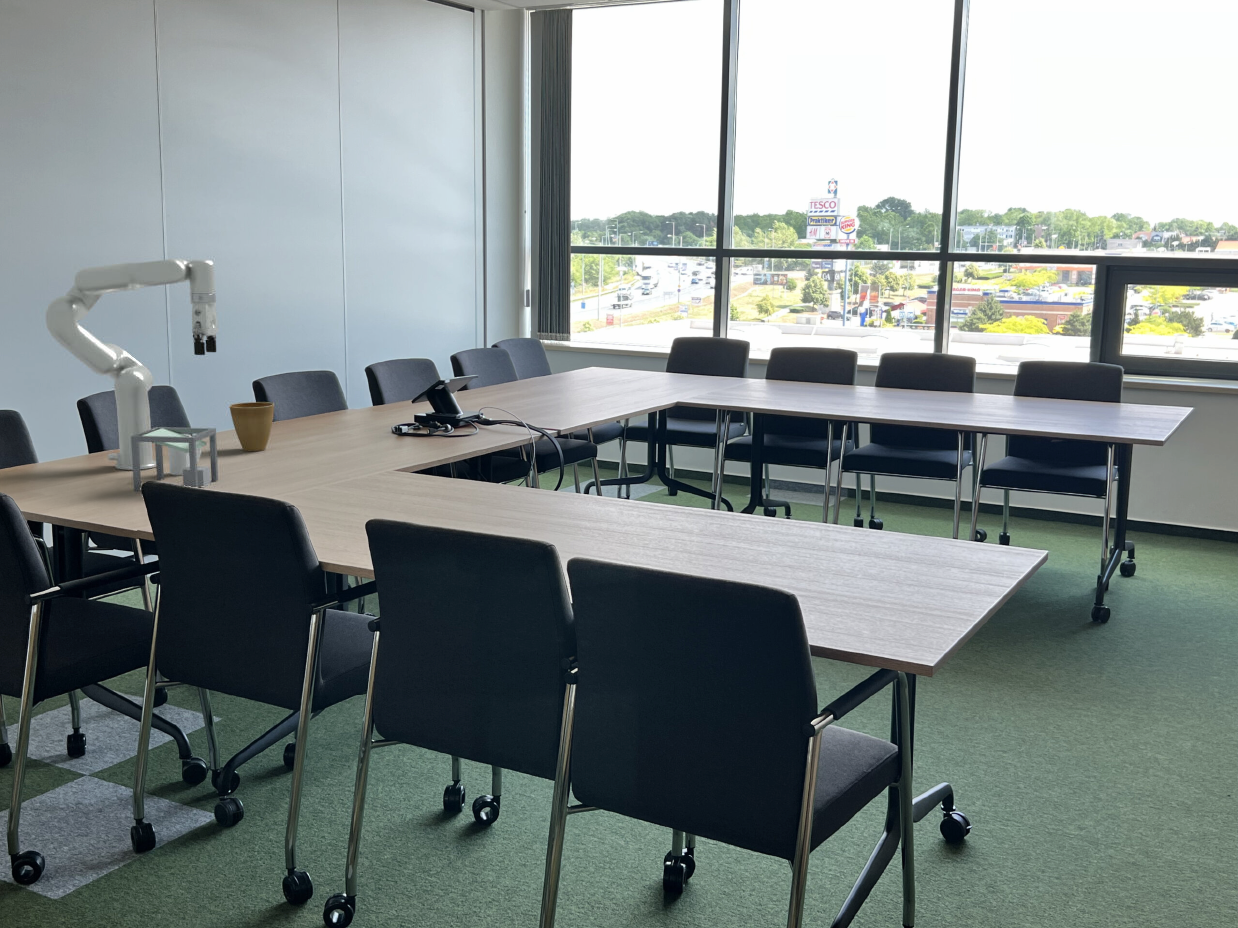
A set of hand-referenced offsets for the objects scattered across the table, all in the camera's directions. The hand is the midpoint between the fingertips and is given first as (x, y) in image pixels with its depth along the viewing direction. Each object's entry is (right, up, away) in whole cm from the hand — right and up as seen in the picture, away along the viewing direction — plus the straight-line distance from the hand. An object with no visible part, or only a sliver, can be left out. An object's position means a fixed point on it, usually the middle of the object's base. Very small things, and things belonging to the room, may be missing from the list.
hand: (205, 353), depth 364 cm
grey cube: (+3, -39, -25) cm, 47 cm away
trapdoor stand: (+1, -42, -25) cm, 48 cm away
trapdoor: (+1, -29, -27) cm, 40 cm away
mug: (-4, -38, -6) cm, 39 cm away
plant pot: (+4, -30, +36) cm, 47 cm away
